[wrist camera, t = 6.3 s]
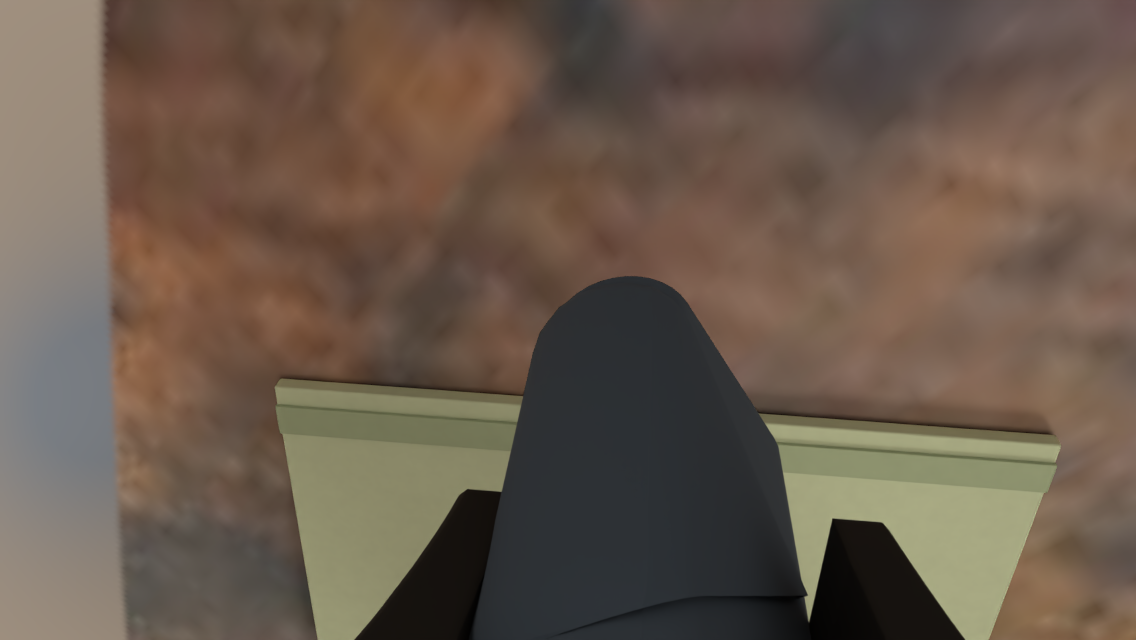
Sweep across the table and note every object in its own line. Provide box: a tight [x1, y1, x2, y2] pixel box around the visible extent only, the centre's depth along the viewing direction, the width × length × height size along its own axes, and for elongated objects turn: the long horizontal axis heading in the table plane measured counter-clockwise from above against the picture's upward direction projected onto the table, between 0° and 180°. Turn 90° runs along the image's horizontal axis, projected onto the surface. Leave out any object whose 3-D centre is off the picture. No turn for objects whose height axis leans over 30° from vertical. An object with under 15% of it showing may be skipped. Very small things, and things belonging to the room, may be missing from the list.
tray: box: [275, 379, 1061, 640], centre depth 23 cm, size 9×18×1 cm, turn 89°
